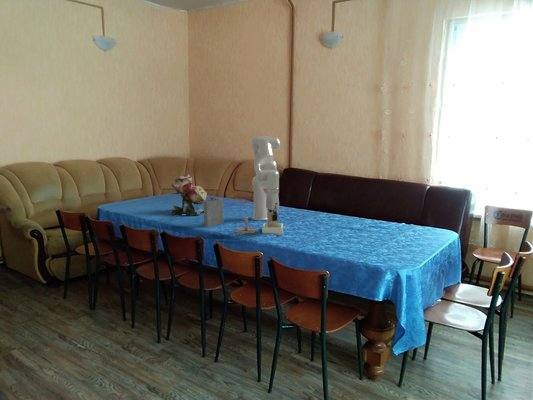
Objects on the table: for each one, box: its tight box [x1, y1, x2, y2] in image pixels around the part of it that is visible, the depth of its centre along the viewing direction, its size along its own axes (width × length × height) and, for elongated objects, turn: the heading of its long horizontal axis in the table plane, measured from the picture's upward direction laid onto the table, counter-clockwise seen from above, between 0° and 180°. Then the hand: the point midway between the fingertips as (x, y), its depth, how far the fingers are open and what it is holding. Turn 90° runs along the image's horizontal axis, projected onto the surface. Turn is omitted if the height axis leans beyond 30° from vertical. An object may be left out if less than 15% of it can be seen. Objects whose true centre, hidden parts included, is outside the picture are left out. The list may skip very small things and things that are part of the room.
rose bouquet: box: [168, 173, 208, 217], centre depth 337 cm, size 26×29×30 cm
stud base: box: [234, 216, 257, 234], centre depth 276 cm, size 12×12×10 cm
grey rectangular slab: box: [203, 195, 224, 228], centre depth 296 cm, size 16×4×20 cm, turn 136°
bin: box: [261, 222, 284, 237], centre depth 275 cm, size 12×12×5 cm
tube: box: [266, 211, 279, 228], centre depth 274 cm, size 5×5×10 cm
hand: (272, 219), depth 274 cm, fingers closed on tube, 5 cm apart
